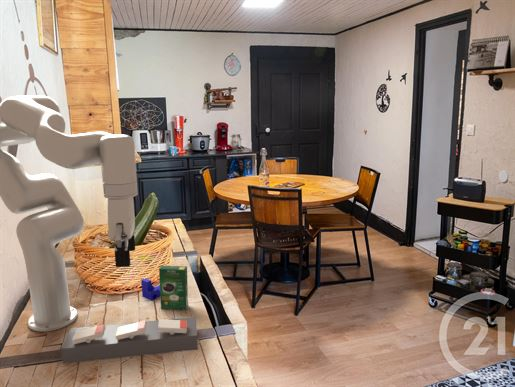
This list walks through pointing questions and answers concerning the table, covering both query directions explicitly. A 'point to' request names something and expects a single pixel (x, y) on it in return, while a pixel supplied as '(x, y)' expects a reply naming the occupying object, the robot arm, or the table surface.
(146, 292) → the blue piece
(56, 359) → the table surface
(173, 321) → the rocker
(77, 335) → the rocker
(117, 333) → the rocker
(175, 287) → the coffee box
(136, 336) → the rocker switch panel
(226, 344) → the table surface
